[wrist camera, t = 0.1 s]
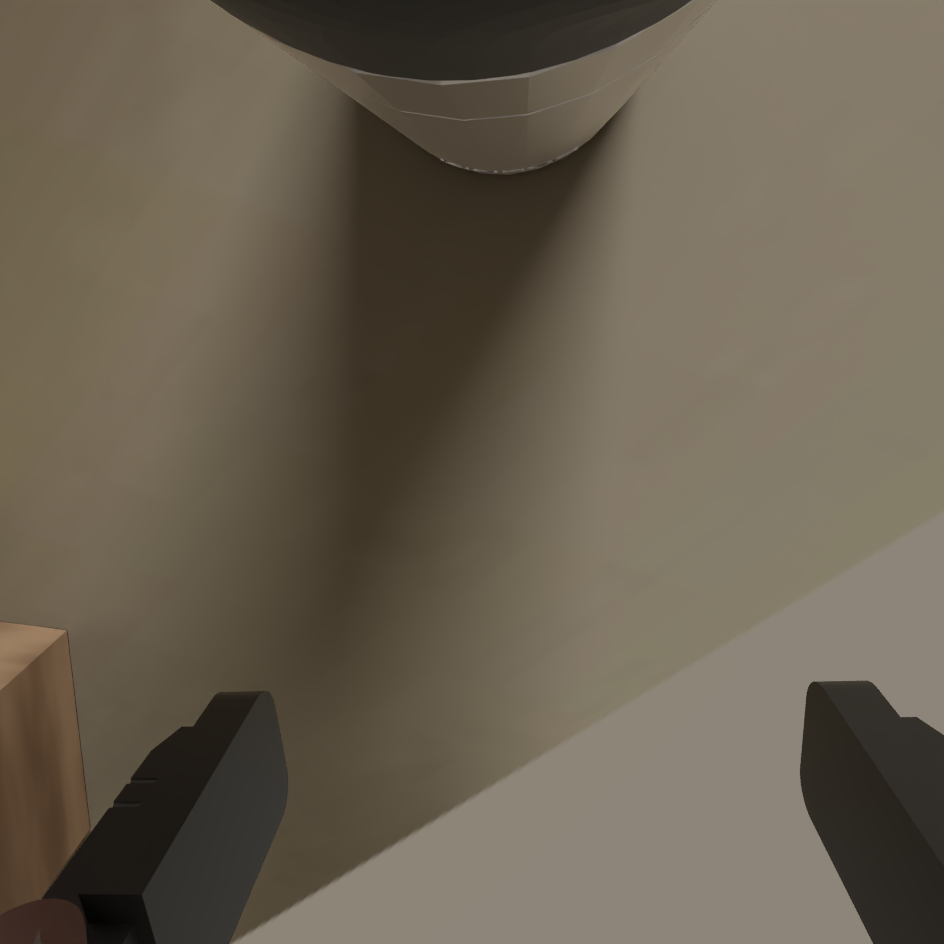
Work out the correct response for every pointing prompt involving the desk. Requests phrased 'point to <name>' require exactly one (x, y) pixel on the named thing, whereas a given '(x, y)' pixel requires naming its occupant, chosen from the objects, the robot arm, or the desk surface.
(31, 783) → the pedestal
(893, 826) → the robot arm
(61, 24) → the desk surface
